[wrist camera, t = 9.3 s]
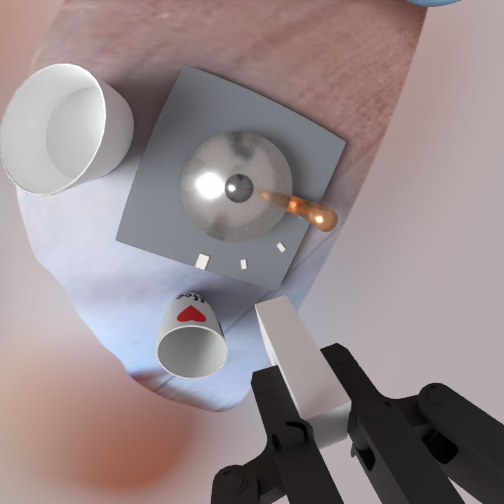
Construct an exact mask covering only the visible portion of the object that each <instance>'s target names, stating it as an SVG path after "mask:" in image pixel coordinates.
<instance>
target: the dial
mask: <svg viewBox="0 0 504 504" xmlns="http://www.w3.org/2000/svg"><path fill="white" fill-rule="evenodd" d="M181 197H182V202H183V205H184V209H185V211H186V213H187V215H188V216H189V218H190V219H191V221H192V222H193V223H194V224H195V226H196V227H197V228H199V229H200V230H201V231H202V232H204V233H205V234H207V235H208V236H210V237H212V238H215V239H218V240H221V241H226V242H244V241H249V240H252V239H255V238H258V237H260V236H262V235H264V234H265V233H267V232H268V231H270V230H271V229H272V228H273V227H274V226H275V225H276V224H277V223H278V222H279V221H280V220H281V218H282V217H283V215H284V214H285V212H286V211H287V212H290V213H293V214H296V215H298V216H300V217H301V218H303V219H304V220H306V221H308V222H309V223H311V224H312V225H314V226H315V227H317V228H318V229H320V230H321V231H323V232H329V231H331V230H333V229H334V228H335V227H336V225H337V222H338V217H337V214H336V213H335V212H334V211H333V210H331V209H329V208H327V207H325V206H322V205H320V204H318V203H316V202H314V201H311V200H309V199H307V198H300V197H297V196H294V195H292V175H291V171H290V168H289V165H288V163H287V161H286V159H285V157H284V156H283V154H282V153H281V151H280V150H279V149H278V148H277V147H276V146H275V145H274V144H273V143H271V142H270V141H269V140H267V139H265V138H264V137H261V136H259V135H257V134H253V133H250V132H243V131H234V132H227V133H223V134H219V135H217V136H215V137H212V138H210V139H209V140H207V141H205V142H204V143H203V144H201V145H200V146H199V147H198V148H197V149H196V150H195V151H194V152H193V153H192V155H191V156H190V157H189V159H188V161H187V163H186V165H185V168H184V170H183V175H182V179H181Z"/></svg>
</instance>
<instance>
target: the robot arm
mask: <svg viewBox="0 0 504 504" xmlns="http://www.w3.org/2000/svg"><path fill="white" fill-rule="evenodd" d="M406 1H408V2H410V3H412V4H416V5H421V6H425V7H435V6H443V5H448V4H451V3H455V2H458V1H461V0H406ZM255 308H256V312H257V316H258V320H259V324H260V328H261V332H262V336H263V340H264V344H265V348H266V350H267V353H268V355H269V358H270V360H271V362H272V365H273V366H272V367H269V368H265V369H262V370H259V371H255V372H253V375H252V380H251V385H252V389H253V392H254V395H255V399H256V402H257V405H258V408H259V412H260V415H261V418H262V421H263V424H264V428H265V431H266V434H267V445H266V447H265V449H264V451H263V452H262V453H261V454H260V455H259V456H258V457H256V458H255V459H253V460H251V461H250V462H248V463H246V464H244V465H243V466H241V465H231V466H227V467H225V468H223V469H221V470H220V471H219V472H218V473H217V474H216V475H215V478H214V480H213V485H212V495H211V504H272V503H273V502H275V501H277V500H278V499H280V498H282V497H283V496H285V495H286V494H287V497H288V500H289V503H290V504H344V502H343V500H342V498H341V496H340V494H339V492H338V490H337V488H336V485H335V483H334V481H333V479H332V477H331V475H330V473H329V471H328V468H327V466H326V464H325V462H324V460H323V458H322V455H321V453H320V451H319V449H322V448H325V447H327V446H330V445H332V444H335V443H337V442H339V441H342V440H344V439H346V438H347V434H349V436H350V438H351V440H352V441H353V444H352V448H351V456H352V457H354V456H355V454H356V456H357V458H358V460H359V462H360V464H361V465H362V467H363V469H364V471H365V473H366V475H367V476H368V478H369V480H370V482H371V484H372V486H373V488H374V490H375V491H376V493H377V495H378V497H379V498H380V501H381V502H382V504H465V502H464V501H463V500H462V498H461V496H460V495H459V493H458V492H457V490H456V489H455V488H454V486H453V485H452V483H451V482H450V480H449V479H448V477H449V478H450V479H451V480H452V481H454V482H455V483H456V484H458V485H459V486H460V487H461V488H463V489H464V490H465V491H467V492H468V493H469V494H470V495H472V496H473V497H474V498H476V499H477V500H478V501H480V502H481V503H482V504H504V425H503V424H502V423H500V422H499V421H497V420H496V419H494V418H493V417H491V416H490V415H488V414H487V413H486V412H484V411H483V410H481V409H480V408H478V407H477V406H475V405H474V404H472V403H471V402H470V401H468V400H467V399H465V398H464V397H462V396H461V395H459V394H458V393H456V392H455V391H453V390H452V389H451V388H449V387H448V386H446V385H444V384H441V383H431V384H428V385H426V386H425V387H423V388H422V390H421V391H420V393H419V394H418V395H414V396H410V397H406V398H401V399H391V398H388V397H385V396H383V395H382V394H380V392H379V391H378V390H377V389H376V388H375V386H374V385H373V383H372V382H371V381H370V379H369V378H368V377H367V375H366V374H365V372H364V371H363V370H362V369H361V367H360V366H359V364H358V363H357V361H356V360H355V359H354V357H353V356H352V355H351V353H350V352H349V350H348V349H347V348H345V347H343V346H342V345H340V344H338V343H335V344H333V345H330V346H327V347H325V348H322V349H319V348H318V346H317V345H316V343H315V342H314V340H313V338H312V337H311V335H310V333H309V332H308V330H307V329H306V327H305V325H304V324H303V322H302V321H301V319H300V317H299V316H298V314H297V313H296V311H295V309H294V308H293V306H292V305H291V303H290V301H289V300H288V298H287V297H286V295H283V296H280V297H277V298H274V299H270V300H267V301H264V302H260V303H257V304H255Z"/></svg>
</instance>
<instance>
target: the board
mask: <svg viewBox="0 0 504 504" xmlns="http://www.w3.org/2000/svg"><path fill="white" fill-rule="evenodd" d="M234 131H243V132H250V133H253V134H257V135H259V136H261V137H264V138H265V139H267V140H269V141H270V142H271V143H273V144H274V145H275V146H276V147H277V148H278V149H279V150H280V151H281V153H282V154H283V156H284V157H285V159H286V161H287V163H288V165H289V168H290V171H291V175H292V195H294V196H297V197H300V198H307V199H309V200H311V201H314V202H316V203H318V204H319V203H320V201H321V199H322V196H323V194H324V192H325V190H326V188H327V185H328V183H329V181H330V179H331V176H332V174H333V172H334V170H335V167H336V165H337V163H338V161H339V158H340V156H341V154H342V151H343V149H344V147H345V144H346V142H345V141H344V140H342V139H340V138H339V137H337V136H335V135H334V134H332V133H331V132H329V131H327V130H325V129H324V128H322V127H320V126H319V125H317V124H315V123H313V122H312V121H310V120H308V119H306V118H304V117H303V116H301V115H299V114H297V113H295V112H293V111H291V110H289V109H288V108H286V107H284V106H282V105H280V104H278V103H276V102H274V101H272V100H270V99H268V98H265V97H263V96H261V95H259V94H257V93H255V92H253V91H250V90H248V89H246V88H244V87H241V86H239V85H237V84H234V83H232V82H230V81H227V80H225V79H222V78H220V77H217V76H215V75H212V74H210V73H207V72H204V71H202V70H199V69H196V68H193V67H190V66H187V65H185V64H184V66H183V68H182V70H181V72H180V74H179V76H178V78H177V80H176V82H175V84H174V86H173V88H172V90H171V92H170V94H169V96H168V98H167V100H166V102H165V104H164V106H163V109H162V111H161V113H160V115H159V117H158V120H157V122H156V124H155V127H154V129H153V131H152V134H151V136H150V138H149V141H148V143H147V146H146V148H145V151H144V154H143V156H142V159H141V161H140V164H139V167H138V170H137V172H136V175H135V178H134V181H133V184H132V187H131V190H130V193H129V196H128V199H127V202H126V205H125V208H124V212H123V215H122V218H121V222H120V225H119V229H118V232H117V236H116V241H119V242H122V243H125V244H127V245H130V246H133V247H136V248H139V249H142V250H145V251H148V252H151V253H154V254H157V255H160V256H163V257H166V258H169V259H172V260H175V261H178V262H181V263H184V264H187V265H191V266H194V267H197V268H200V269H203V270H206V271H209V272H213V273H216V274H219V275H222V276H225V277H229V278H232V279H235V280H238V281H242V282H245V283H248V284H252V285H255V286H258V287H262V288H265V289H268V290H272V291H275V292H277V290H278V288H279V286H280V284H281V282H282V280H283V278H284V276H285V274H286V272H287V270H288V268H289V266H290V264H291V262H292V260H293V258H294V256H295V254H296V252H297V250H298V248H299V246H300V244H301V241H302V239H303V237H304V235H305V233H306V231H307V229H308V227H309V225H310V223H309V222H308V221H306V220H304V219H303V218H301V217H300V216H298V215H296V214H293V213H290V212H287V211H286V212H285V214H284V215H283V217H282V218H281V220H280V221H279V222H278V223H277V224H276V225H275V226H274V227H273V228H272V229H271V230H270V231H268V232H267V233H265V234H264V235H262V236H260V237H258V238H255V239H252V240H249V241H244V242H226V241H221V240H218V239H215V238H212V237H210V236H208V235H207V234H205V233H204V232H202V231H201V230H200V229H199V228H197V227H196V226H195V224H194V223H193V222H192V221H191V219H190V218H189V216H188V215H187V213H186V211H185V209H184V205H183V202H182V197H181V179H182V175H183V170H184V168H185V165H186V163H187V161H188V159H189V157H190V156H191V155H192V153H193V152H194V151H195V150H196V149H197V148H198V147H199V146H200V145H201V144H203V143H204V142H205V141H207V140H209V139H210V138H212V137H215V136H217V135H219V134H223V133H227V132H234Z"/></svg>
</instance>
